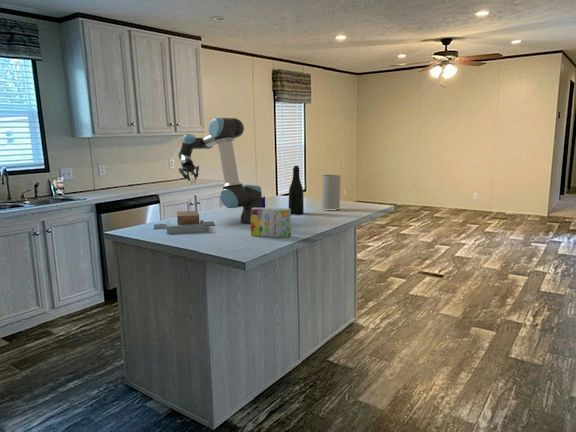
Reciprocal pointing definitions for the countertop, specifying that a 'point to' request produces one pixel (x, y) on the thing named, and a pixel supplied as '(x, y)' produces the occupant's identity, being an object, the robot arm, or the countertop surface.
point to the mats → (163, 226)
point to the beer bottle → (296, 193)
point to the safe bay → (185, 228)
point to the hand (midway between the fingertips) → (193, 182)
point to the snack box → (271, 222)
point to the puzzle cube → (263, 201)
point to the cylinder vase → (331, 192)
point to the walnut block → (187, 217)
